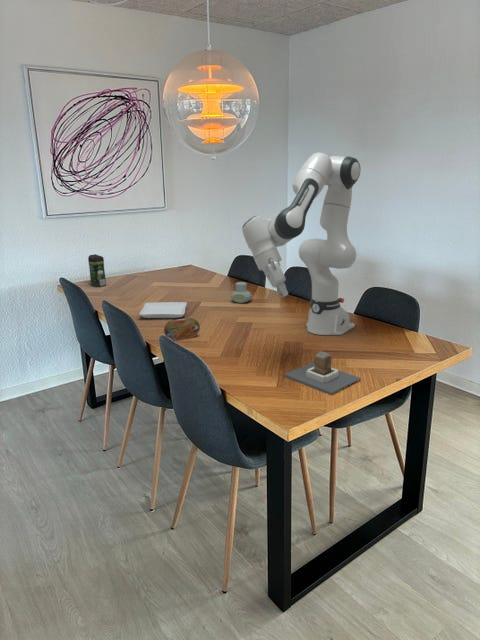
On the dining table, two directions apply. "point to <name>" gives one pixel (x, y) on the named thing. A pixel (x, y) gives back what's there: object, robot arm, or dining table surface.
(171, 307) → the salad plate
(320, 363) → the plug
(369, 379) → the dining table surface
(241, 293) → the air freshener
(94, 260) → the coffee jar
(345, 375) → the end holder
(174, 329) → the tin
